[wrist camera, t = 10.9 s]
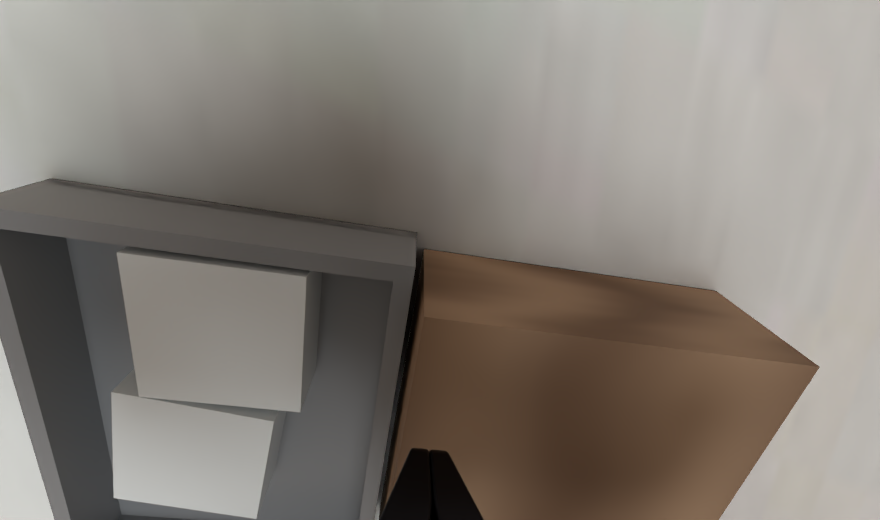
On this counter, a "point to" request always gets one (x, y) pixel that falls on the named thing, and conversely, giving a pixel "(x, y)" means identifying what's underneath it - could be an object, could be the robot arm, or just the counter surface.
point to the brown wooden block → (588, 391)
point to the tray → (110, 355)
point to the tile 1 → (192, 452)
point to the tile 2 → (220, 329)
